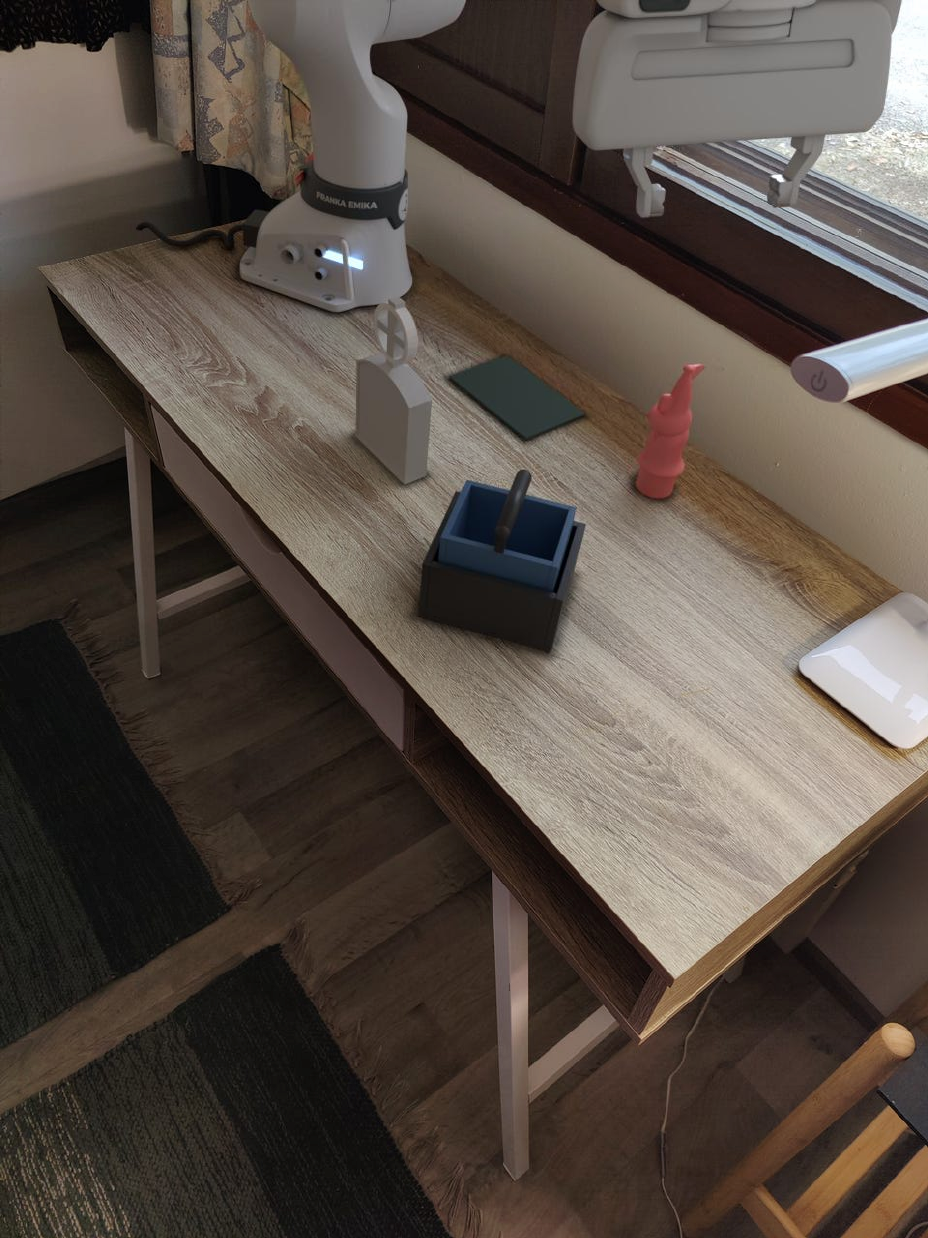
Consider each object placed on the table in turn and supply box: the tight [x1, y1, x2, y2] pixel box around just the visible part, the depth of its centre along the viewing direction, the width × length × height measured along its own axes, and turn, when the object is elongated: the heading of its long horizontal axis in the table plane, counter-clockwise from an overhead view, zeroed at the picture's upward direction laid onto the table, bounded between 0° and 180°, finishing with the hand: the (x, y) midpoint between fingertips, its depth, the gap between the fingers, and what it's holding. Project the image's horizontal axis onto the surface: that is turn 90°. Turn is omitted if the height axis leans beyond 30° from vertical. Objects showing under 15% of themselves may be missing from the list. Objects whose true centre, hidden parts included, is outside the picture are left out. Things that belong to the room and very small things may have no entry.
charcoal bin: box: [417, 490, 587, 653], centre depth 87 cm, size 12×10×7 cm
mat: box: [448, 354, 586, 442], centre depth 111 cm, size 14×9×1 cm, turn 39°
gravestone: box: [355, 296, 433, 485], centre depth 95 cm, size 3×9×18 cm, turn 37°
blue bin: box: [438, 469, 577, 593], centre depth 84 cm, size 10×9×11 cm
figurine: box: [635, 363, 706, 499], centre depth 97 cm, size 5×5×15 cm
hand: (715, 209), depth 66 cm, fingers open, 8 cm apart
